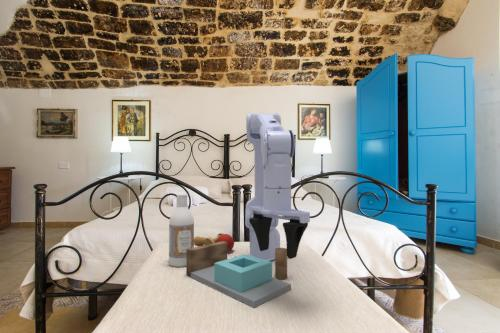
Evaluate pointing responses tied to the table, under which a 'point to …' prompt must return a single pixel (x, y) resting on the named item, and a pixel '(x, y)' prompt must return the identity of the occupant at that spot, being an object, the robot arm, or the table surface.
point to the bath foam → (180, 232)
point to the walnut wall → (205, 256)
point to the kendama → (216, 240)
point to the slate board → (249, 296)
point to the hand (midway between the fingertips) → (277, 253)
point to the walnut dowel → (281, 263)
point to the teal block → (243, 272)
